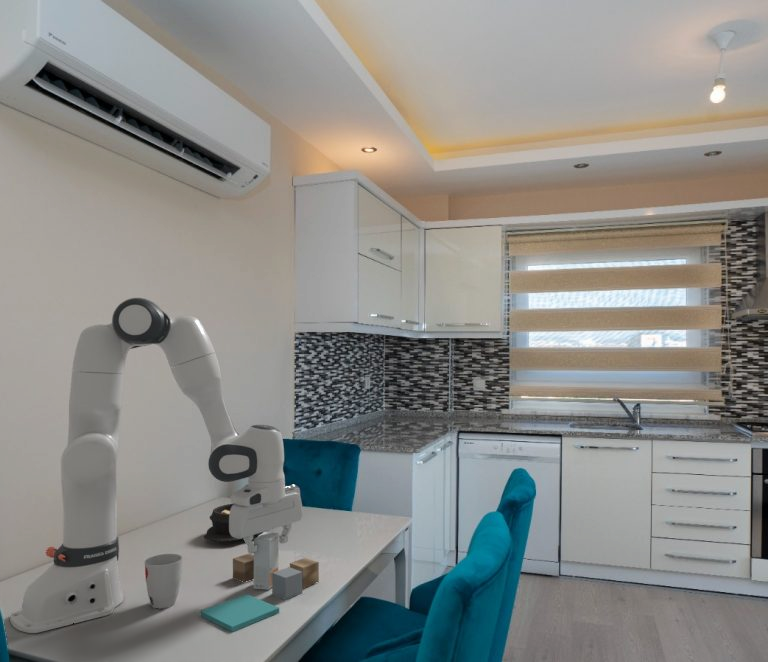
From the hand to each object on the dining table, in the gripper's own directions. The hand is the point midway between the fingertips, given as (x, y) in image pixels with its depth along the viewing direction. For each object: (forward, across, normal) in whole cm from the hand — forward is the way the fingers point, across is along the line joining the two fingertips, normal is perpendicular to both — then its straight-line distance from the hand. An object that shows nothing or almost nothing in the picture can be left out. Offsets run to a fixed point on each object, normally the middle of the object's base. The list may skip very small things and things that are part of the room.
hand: (268, 547), depth 147 cm
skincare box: (+9, +1, 0) cm, 9 cm away
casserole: (+9, -19, -41) cm, 47 cm away
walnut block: (+9, +1, -8) cm, 12 cm away
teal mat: (+9, +15, +9) cm, 19 cm away
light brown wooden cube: (+9, -6, +6) cm, 13 cm away
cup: (+9, +23, -9) cm, 26 cm away
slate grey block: (+9, +1, +8) cm, 12 cm away
